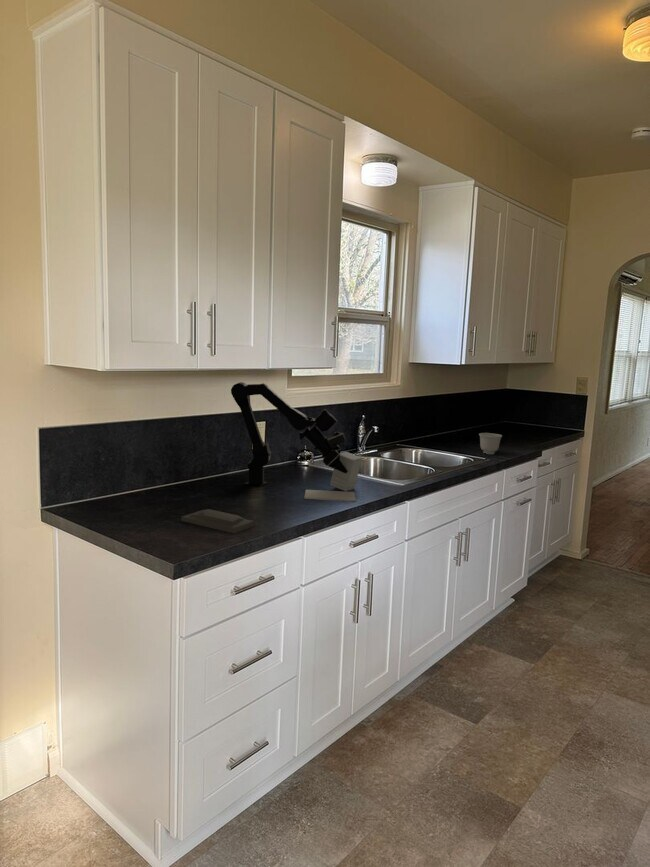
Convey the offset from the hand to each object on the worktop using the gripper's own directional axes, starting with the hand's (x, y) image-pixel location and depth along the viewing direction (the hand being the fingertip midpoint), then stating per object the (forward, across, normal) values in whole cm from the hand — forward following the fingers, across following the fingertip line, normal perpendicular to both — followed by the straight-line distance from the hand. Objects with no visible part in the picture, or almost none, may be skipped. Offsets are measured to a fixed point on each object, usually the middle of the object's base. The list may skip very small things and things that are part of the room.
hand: (346, 470), depth 246 cm
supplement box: (+4, 0, +6) cm, 7 cm away
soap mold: (-21, -53, +32) cm, 66 cm away
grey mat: (+1, -12, +9) cm, 15 cm away
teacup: (+58, +100, -46) cm, 125 cm away
